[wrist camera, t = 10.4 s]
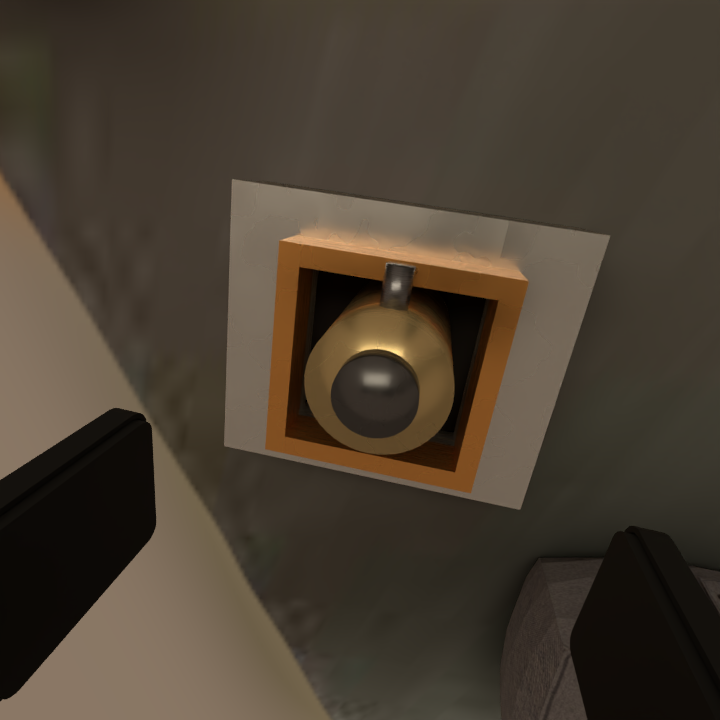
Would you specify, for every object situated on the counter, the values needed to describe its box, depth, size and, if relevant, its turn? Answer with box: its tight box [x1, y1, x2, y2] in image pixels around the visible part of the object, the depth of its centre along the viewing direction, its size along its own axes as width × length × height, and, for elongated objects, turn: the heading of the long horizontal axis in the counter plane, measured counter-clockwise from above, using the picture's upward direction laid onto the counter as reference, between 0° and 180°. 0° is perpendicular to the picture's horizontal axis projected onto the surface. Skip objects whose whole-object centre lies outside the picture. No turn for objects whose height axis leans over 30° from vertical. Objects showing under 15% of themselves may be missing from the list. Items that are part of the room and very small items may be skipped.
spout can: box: [304, 261, 454, 455], centre depth 18 cm, size 6×5×9 cm
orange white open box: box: [224, 179, 610, 510], centre depth 20 cm, size 14×12×6 cm
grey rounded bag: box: [500, 557, 720, 720], centre depth 23 cm, size 15×8×20 cm
